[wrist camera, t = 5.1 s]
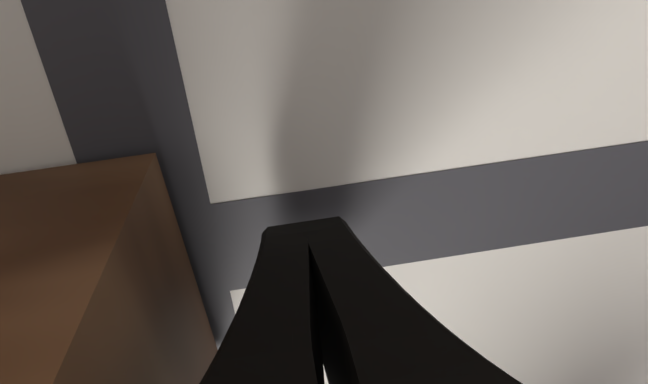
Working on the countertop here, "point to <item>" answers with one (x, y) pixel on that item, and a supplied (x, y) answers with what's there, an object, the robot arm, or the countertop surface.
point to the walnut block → (97, 279)
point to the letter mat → (375, 149)
